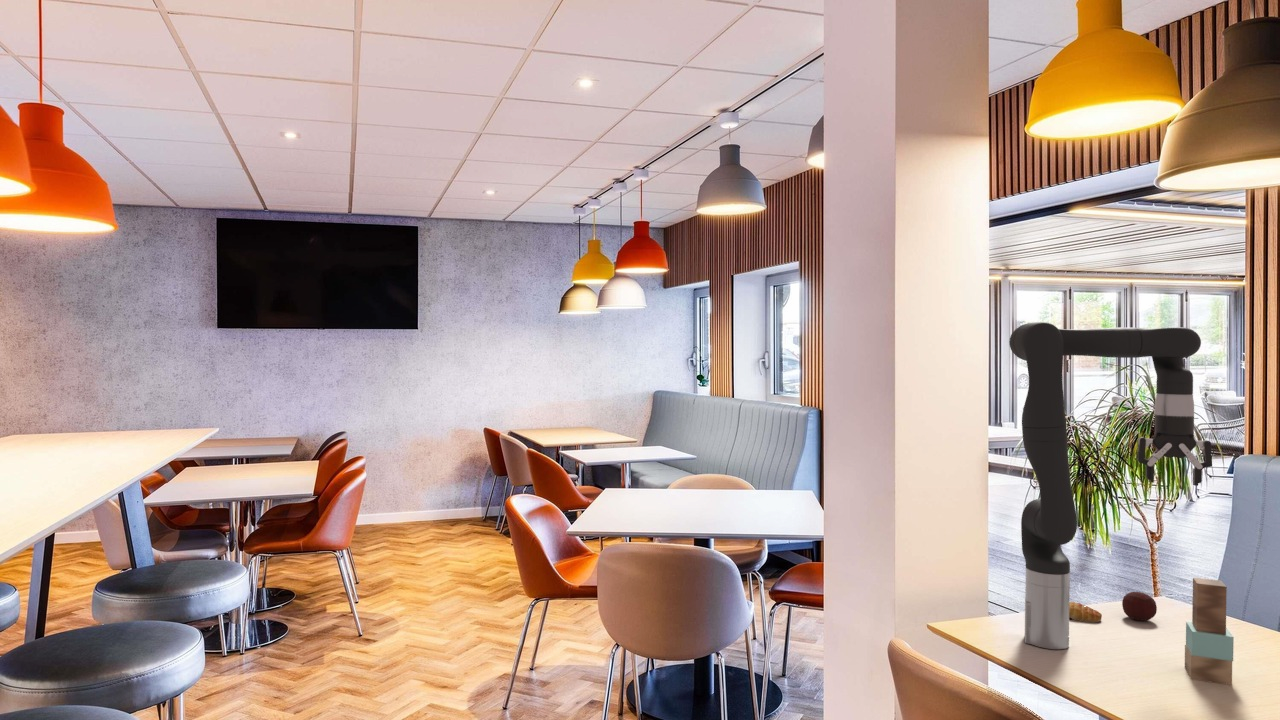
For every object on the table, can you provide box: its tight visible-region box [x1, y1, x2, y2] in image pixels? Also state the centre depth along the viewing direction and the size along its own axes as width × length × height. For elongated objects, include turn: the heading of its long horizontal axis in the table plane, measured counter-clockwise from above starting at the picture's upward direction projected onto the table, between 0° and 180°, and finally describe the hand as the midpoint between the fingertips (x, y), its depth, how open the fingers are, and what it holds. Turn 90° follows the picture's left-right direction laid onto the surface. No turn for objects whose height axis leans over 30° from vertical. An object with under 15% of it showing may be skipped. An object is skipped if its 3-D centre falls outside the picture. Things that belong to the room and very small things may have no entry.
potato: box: [1121, 591, 1158, 622], centre depth 201 cm, size 7×8×7 cm
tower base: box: [1184, 644, 1233, 686], centre depth 165 cm, size 7×7×5 cm
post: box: [1191, 577, 1228, 635], centre depth 165 cm, size 5×5×10 cm
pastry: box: [1069, 601, 1103, 623], centre depth 202 cm, size 9×7×4 cm
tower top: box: [1185, 621, 1235, 662], centre depth 165 cm, size 7×7×5 cm
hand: (1173, 483), depth 181 cm, fingers open, 8 cm apart
